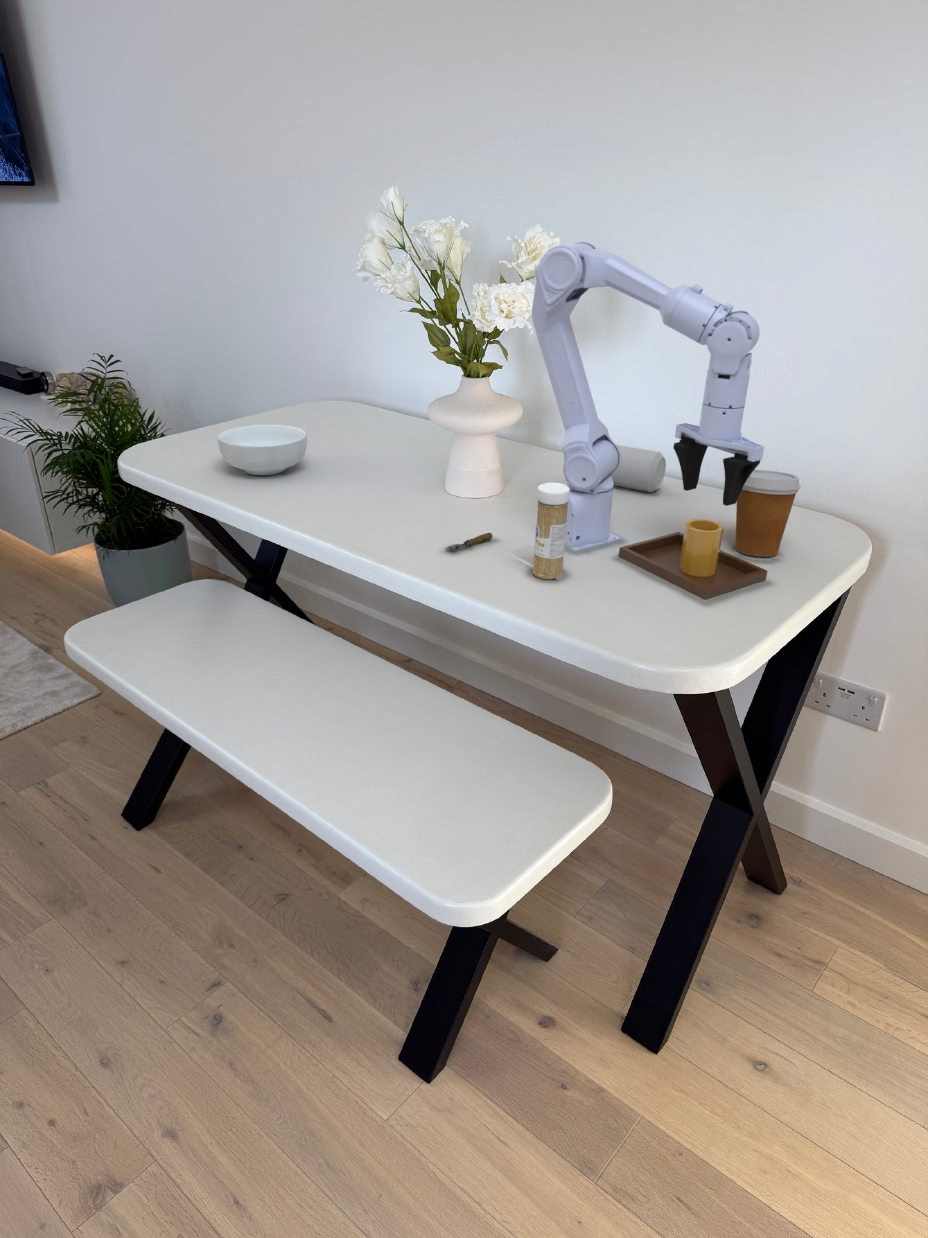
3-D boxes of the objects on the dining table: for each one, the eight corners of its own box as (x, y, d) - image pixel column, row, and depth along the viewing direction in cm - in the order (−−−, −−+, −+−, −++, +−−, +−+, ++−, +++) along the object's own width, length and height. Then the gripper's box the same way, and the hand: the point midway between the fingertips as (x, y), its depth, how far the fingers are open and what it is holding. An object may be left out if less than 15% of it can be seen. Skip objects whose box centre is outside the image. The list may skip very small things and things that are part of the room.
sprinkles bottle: (527, 570, 126) (532, 483, 120) (554, 566, 128) (560, 479, 122) (541, 582, 122) (547, 493, 116) (569, 578, 124) (576, 489, 118)
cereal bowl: (326, 470, 167) (324, 434, 164) (254, 489, 156) (250, 451, 153) (275, 451, 178) (272, 418, 174) (204, 468, 167) (200, 433, 163)
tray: (704, 603, 117) (706, 590, 116) (618, 559, 130) (619, 547, 129) (765, 583, 124) (767, 570, 123) (676, 543, 137) (678, 531, 136)
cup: (698, 579, 123) (705, 534, 120) (672, 567, 127) (678, 523, 124) (723, 572, 126) (730, 527, 122) (696, 559, 129) (703, 516, 126)
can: (665, 444, 155) (604, 434, 161) (650, 474, 152) (589, 463, 158) (668, 471, 161) (610, 461, 167) (654, 501, 158) (595, 489, 164)
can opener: (488, 537, 137) (488, 531, 136) (497, 542, 135) (497, 535, 135) (441, 549, 132) (441, 543, 132) (450, 555, 131) (450, 548, 130)
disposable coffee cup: (756, 562, 127) (770, 482, 123) (711, 546, 135) (722, 470, 131) (801, 556, 131) (816, 479, 127) (755, 541, 139) (767, 468, 135)
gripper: (784, 411, 116) (766, 505, 122) (703, 390, 127) (691, 478, 133) (750, 418, 112) (734, 514, 119) (670, 396, 123) (658, 486, 129)
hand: (709, 496), depth 126 cm, fingers open, 7 cm apart
